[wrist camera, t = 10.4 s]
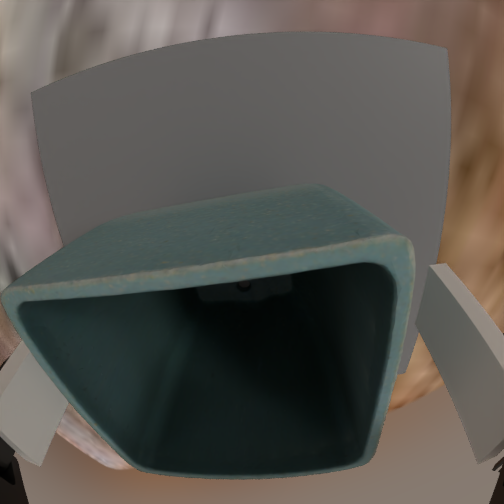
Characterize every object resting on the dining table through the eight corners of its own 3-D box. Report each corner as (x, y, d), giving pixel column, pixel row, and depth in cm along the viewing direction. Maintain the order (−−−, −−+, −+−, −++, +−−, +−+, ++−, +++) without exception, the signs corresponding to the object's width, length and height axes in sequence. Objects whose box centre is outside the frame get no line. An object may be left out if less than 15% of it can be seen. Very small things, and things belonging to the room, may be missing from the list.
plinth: (411, 55, 13) (446, 48, 10) (389, 336, 22) (405, 372, 19) (71, 90, 14) (30, 92, 11) (140, 349, 23) (125, 386, 20)
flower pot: (177, 332, 17) (136, 475, 9) (124, 183, 13) (-11, 293, 5) (333, 314, 16) (372, 466, 8) (319, 145, 12) (421, 230, 4)
